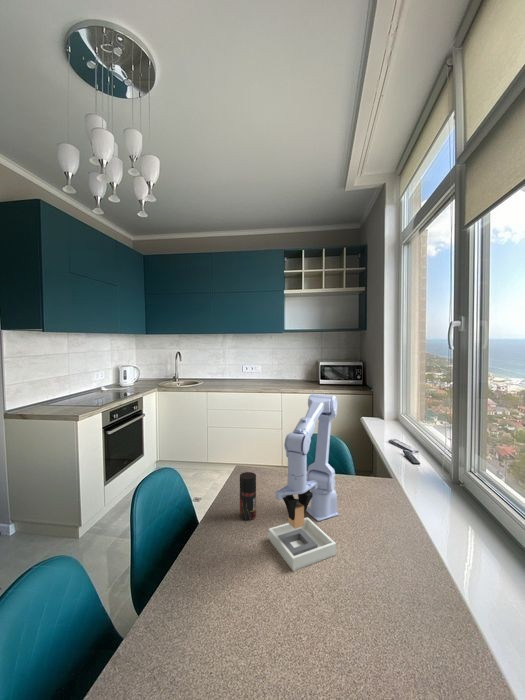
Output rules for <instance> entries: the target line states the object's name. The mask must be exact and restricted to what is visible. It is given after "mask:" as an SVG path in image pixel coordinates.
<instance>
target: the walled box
mask: <svg viewBox="0 0 525 700" xmlns="http://www.w3.org/2000/svg"><path fill="white" fill-rule="evenodd" d="M301 528H302V529H303V530H304V531H305V533H306V534H307V535H308V536H309V537H310V538H311V539H312V540H313V541H314V542H315V543H316V544H317V545H318V548H315V549H313V550H310V551H307V552H304V553H301V554H298V555H296V556H294V555H293V554H292V553H291V552H290V551H289V549H288V548H287V547H286V546H285V545H284V543H283V542H282V541H281V540H280V538H279V537H278V535H282V534H285V533H288V532H291V531H295V530H298V529H301ZM268 541H270V543H271V544H272V546H273V547H274V549H275V550H276V551H277V552H278V554H279V555H280V556H281V558H282V559H283V560H284V561H285V563H286V564H287V565H288V567H289V568H290V569H291V570H292V572H294V571H298V570H300V569H302V568H305V567H307V566H310V565H311V566H312V565H313V564H315V563H316V564H317V563H319V562H322V561H323V560H327V559H329V558H332V557H335V556H337V543H336V542H335V540H333V539H332V537H330V536H329V535H328V534H327V533H325V531H323V530H322V529H321V528H320V527H319V526H318V525H317V524H316V523H315V522H313V521H312V519H310V518H309V517H308V516H307V517H304V526H301V527H299V528H296V529H295V528H293V527H292V526H291V525H290V524H289V523H288V522H287V523H282V524H280V525H276V526H274V527H270V528H268ZM290 544H291V545H292V546H293V547H294V548H296V547H298V546H301V545H304V544H303V543H302V541H301V540H300V539H299V540H296V541H293V542H290Z"/></svg>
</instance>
